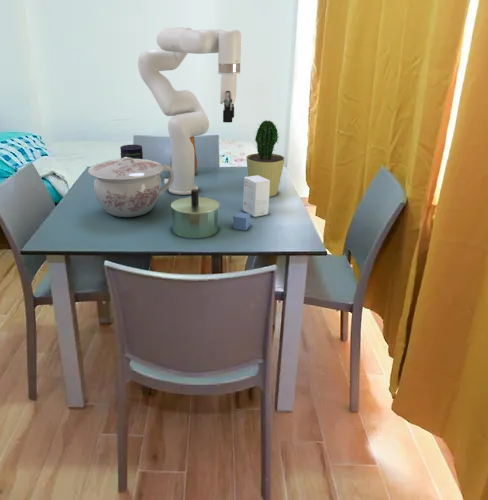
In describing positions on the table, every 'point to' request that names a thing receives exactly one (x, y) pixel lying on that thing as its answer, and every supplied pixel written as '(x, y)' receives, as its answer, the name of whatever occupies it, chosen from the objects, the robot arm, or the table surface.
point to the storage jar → (132, 151)
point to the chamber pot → (129, 185)
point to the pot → (195, 224)
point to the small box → (256, 195)
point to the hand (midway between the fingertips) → (228, 120)
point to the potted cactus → (266, 156)
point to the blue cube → (241, 221)
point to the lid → (195, 204)
